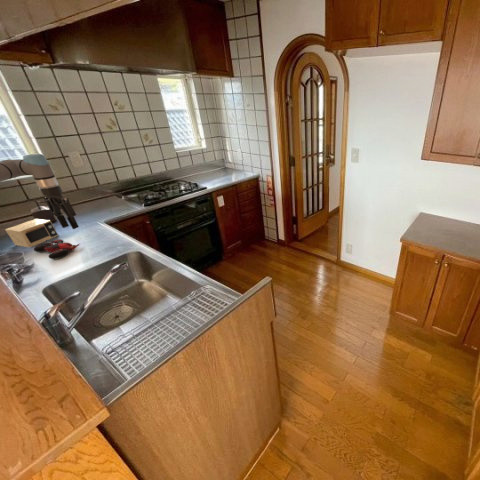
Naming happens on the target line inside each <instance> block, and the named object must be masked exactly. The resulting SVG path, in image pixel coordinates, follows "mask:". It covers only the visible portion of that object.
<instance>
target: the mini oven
mask: <svg viewBox="0 0 480 480" xmlns="http://www.w3.org/2000/svg"><path fill="white" fill-rule="evenodd" d="M4 230H5V232H6V233H7V235H8V236H9V238H10V239H11V241H12V242H13V244H14V245H15V246H16V245H17V246H18V247H23V246H24V248H29V247H30V248H32V247H36V246H37V245H39V244H42V243H45V242H47V241H49V240H52V239H54V238H57V237H58V235H59V234H58V232H57V230H56V228H55V226H54V225H53V222H51V221H50V220H43V219H34V218H33V219H31V220H28V221H26V222H23V223H20V224H16V225H14V226H10V227H8V228H5V229H4ZM56 236H57V237H56ZM53 237H54V238H53ZM51 238H52V239H51ZM46 240H47V241H46Z"/></svg>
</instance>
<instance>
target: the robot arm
mask: <svg viewBox="0 0 480 480" xmlns="http://www.w3.org/2000/svg"><path fill="white" fill-rule="evenodd" d="M23 176H32V177H33V179H34V181H35V183H36V185H37V187H38V188H39V191H40V192H41V194H42V196H43V198H42V199H43V200H44V201H46V203H45V204H46V206H48V207H49V209H50V211H51V214H52V215H55V217H56V219H57V220H58V222H59V224H60V226H61V228H63V229H65V228H67V227H69V226H70V227H71V229H72V230H76V229H77V228H79V224H78V222H77V220H76V218H75V217H77V213H76V212H75V209H74V208H73V206H72V205H71V203H70V199H69V198H68V197H64V196H63V195H62V193H63V190H62V187H61V186H60V184H59V181H58V180H57V177H56V176H55V174H54V172H53V169H52V167H51V165H50V162H49V161H48V160H47V158H46V155H44V154H42V153H32V154H31V153H30V154H25V155H23V156H22V159H12V158H11V159H9V158H8V159H2V160H0V183H1V182H5V181H7V180H11V179H14V178H19V177H23ZM62 211H63V212H62ZM64 214H65V215H64ZM65 216H66V218H65ZM69 224H70V225H69Z"/></svg>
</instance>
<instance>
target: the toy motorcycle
mask: <svg viewBox="0 0 480 480" xmlns="http://www.w3.org/2000/svg"><path fill="white" fill-rule="evenodd" d="M79 246H80V243H78V244H72V243H71V242H65V241H64V240H63V239H62V238H61V239H56V240H55V239H54V240H53V241H51V242H42V243H40V244H37V245H35V246H34V247H33V251H35V252H36V253H43V252H48V253H49V255H48V258H49V259H51V260H56V259H55V258H58V259H61V258H64V257H66V256H67V255H68V254H69V252H70V251H74V250H76V249H77V248H78V247H79ZM65 255H66V256H65ZM63 256H64V257H63ZM60 257H61V258H60Z"/></svg>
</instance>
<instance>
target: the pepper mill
mask: <svg viewBox="0 0 480 480" xmlns="http://www.w3.org/2000/svg"><path fill="white" fill-rule="evenodd" d="M33 201H34V204H36V207H34V208H31V209H30V214H31V216H32V217H33V220H34V219H43V220H50V221H51V223H53V222H56V221H57V220H58V218H57V216H55V215H52V214H51V211H50V209H49V207H48V205H46V206H44V205H40V204H44V203H45V204H47V203H46V201H45V200H44V201H38V199H34V200H33Z"/></svg>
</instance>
